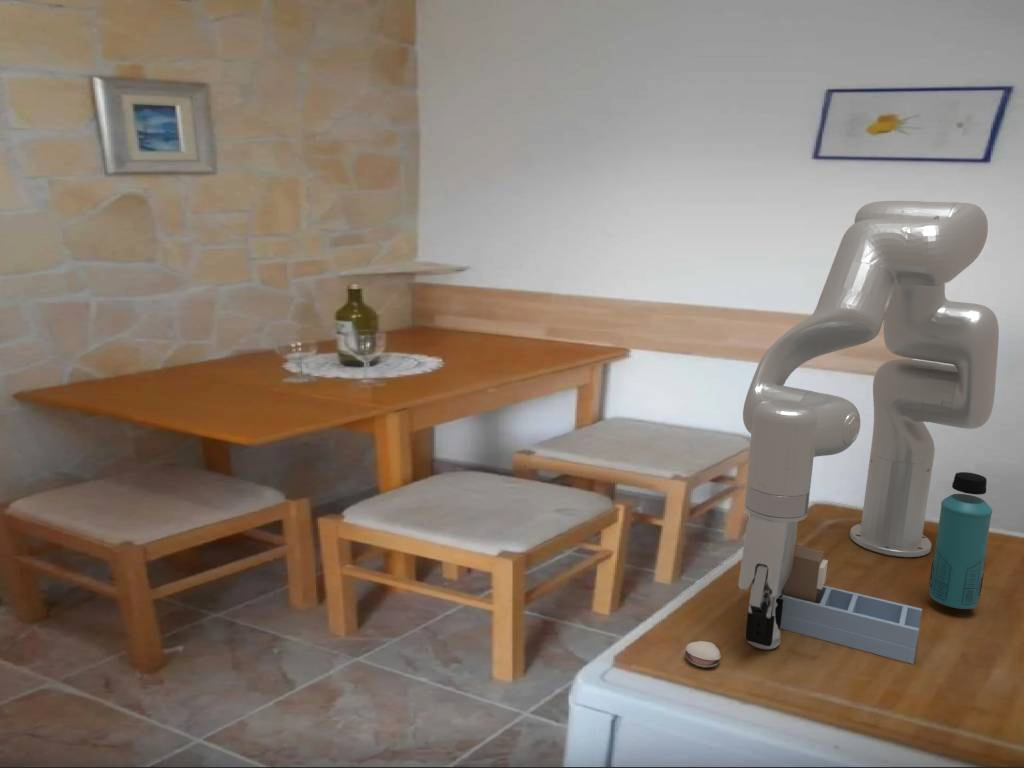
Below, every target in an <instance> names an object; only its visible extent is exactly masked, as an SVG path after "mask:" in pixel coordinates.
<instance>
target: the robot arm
mask: <svg viewBox="0 0 1024 768" xmlns="http://www.w3.org/2000/svg"><path fill="white" fill-rule="evenodd" d="M988 233H989V223H988V219H987V214H986V213H985V211H984V210H983V208H981V207H980V206H979V205H977V204H974V203H970V202H969V203H968V202H953V201H952V202H950V201H949V202H947V201H944V202H943V201H941V202H940V201H921V200H920V201H919V200H917V201H916V200H913V201H912V200H880V201H879V200H878V201H873V202H869V203H866V204H864V205H863V206H861V207H860V209H858V210H857V212H856V214H855V218H854V223H853V224H852V225H850V226H849V228H848V229H847V230H846V231H845V233H844V234H843V236H842V238H841V241H840V244H839V247H838V249H837V251H836V254H835V256H834V259H833V261H832V264H831V268H830V270H829V272H828V275H827V278H826V281H825V283H824V286H823V288H822V291H821V293H820V295H819V299H818V302H817V304H816V307H815V310H814V311H813V313H812V314H811V315H810V316H808V317H807V318H804V319H803V320H802V321H800V322H799V323H797V324H796V325H794V326H793V327H791V328H790V329H789V330H788V331H786V332H785V333H784V334H782V335H781V336H780V337H779V338H778V339H777V340H776V341H775V342H774V343H773V344H772V345H770V347H768V349H767V350H766V351H765V352H764V354H763V356H762V357H761V359H760V361H759V362H758V364H757V366H756V370H755V371H754V372H755V373H754V375H753V378H752V380H751V382H750V385H749V388H748V390H747V393H746V397H745V400H744V403H743V409H742V420H743V425H744V427H745V429H746V430H747V432H749V434H750V441H749V452H748V453H749V454H748V462H747V463H748V465H747V474H746V485H745V496H744V506H743V507H744V508H743V509H744V510H745V511H746V512H747V513H748V514H749V518H748V520H747V526H746V530H745V536H744V543H743V550H742V556H741V557H742V558H741V563H740V565H741V566H740V569H739V570H740V571H739V578H738V588H739V590H740V591H744V590H745V591H748V589H749V587H750V585H751V589H750V597H749V604H748V609H747V610H748V611H747V615H746V616H747V617H746V627H745V628H746V629H745V634H746V636H745V635H744V638H745V640H746V641H747V642H748V641H751V642H754V643H758V644H761V645H765V646H770V645H771V644H772V638H773V628H774V618H775V620H776V624H777V625H778V629H780V628H779V627H780V626H781V618H782V609H783V599H780V598H782V597H783V592H784V585H785V583H786V581H787V579H788V577H789V575H790V573H791V570H792V565H793V560H794V553H795V545H797V544H796V542H797V534H798V522H801V521H804V520H806V518H808V513H809V512H808V511H809V501H810V494H811V483H812V475H813V466H814V458H816V457H825V456H832V455H833V456H834V455H838V454H840V453H843V452H844V451H846V450H847V449H848V448H850V447H851V445H853V443H854V442H856V440H857V438H858V436H859V434H860V428H861V415H860V412H859V409H858V408H857V406H856V405H855V404H854V403H853V402H851V400H848V399H846V398H844V397H842V396H838V395H833V394H829V393H823V392H818V391H813V390H807V389H803V388H799V387H791V386H785V384H786V381H787V380H788V378H789V377H790V376H791V374H792V373H793V372H795V371H796V369H797V368H799V367H801V366H802V365H803V364H805V363H807V362H808V361H810V360H813V359H815V358H817V357H821V356H824V355H826V354H831V353H836V352H837V351H841V350H845V349H849V348H854V347H857V346H859V345H860V346H861V345H863V344H867V343H868V342H871V341H872V340H874V339H875V338H876V337H877V336H878V335H879V333H880V331H881V328H883V329H882V330H883V341H884V345H885V347H886V349H887V350H888V351H889V352H890V353H892V354H893V355H896V356H899V357H902V358H899V359H898V358H897V359H891V360H888V361H886V362H884V363H882V364H881V365H880V366H879V367H878V368H877V370H876V371H875V374H874V377H873V382H872V396H873V397H872V398H873V427H872V428H873V430H872V439H871V444H870V445H871V447H870V455H869V463H868V469H867V470H868V471H867V479H866V483H865V484H866V485H865V493H864V500H863V508H862V516H861V522H860V523H858V524H857V523H856V524H855V525H853V526H852V527H851V528H850V531H849V536H850V539H851V540H852V541H853V542H854V543H855V544H857V545H858V546H860V547H861V548H862V547H863V548H864V549H866V550H869V551H871V552H874V553H875V552H876V553H878V554H881V555H887V556H892V557H901V558H915V557H922V556H925V555H927V554H929V553H930V552H931V550H932V542H931V540H930V539H929V538H928V537H927V536H925V535H924V525H925V520H926V513H927V507H928V499H929V493H930V486H931V479H932V473H933V472H932V471H933V466H934V459H935V450H936V448H935V444H934V440H933V437H932V435H931V433H930V431H929V430H928V428H927V425H926V424H925V423H932V424H937V425H943V426H946V427H947V426H949V427H954V428H960V429H967V430H970V429H972V430H973V429H978V428H980V427H982V426H984V425H985V424H986V423H987V422H988V421H989V419H990V417H991V415H992V412H993V407H994V403H995V394H996V393H995V392H996V380H997V367H998V365H997V364H998V363H997V362H998V355H999V354H998V352H999V337H1000V336H999V335H1000V333H999V332H1000V330H999V329H1000V328H999V322H998V318H997V316H996V314H995V312H994V311H993V309H990V308H989V307H987V306H985V305H983V304H979V303H971V302H960V301H953V300H952V301H951V300H948V298H946V293H945V290H946V284H947V283H950V282H951V281H952V280H954V279H955V278H956V277H957V276H959V275H960V274H961V273H962V272H963V271H964V270H966V269H967V268H969V266H971V265H972V264H973V263H974V262H975V261H976V260H977V259H978V257H979V256H980V254H981V253H982V251H983V249H984V247H985V244H986V242H987V238H988ZM882 326H883V327H882ZM903 357H904V358H903ZM765 587H767V588H770V589H771V592H769V591H765ZM779 594H780V596H779V598H777V599H776V602H777V604H778V606H776V609H775V616H772V613H773V606H774V599H775V597H777V596H778V595H779ZM763 597H766V598H769V600H768V605H767V603H766V602H764V600H763Z"/></svg>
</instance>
